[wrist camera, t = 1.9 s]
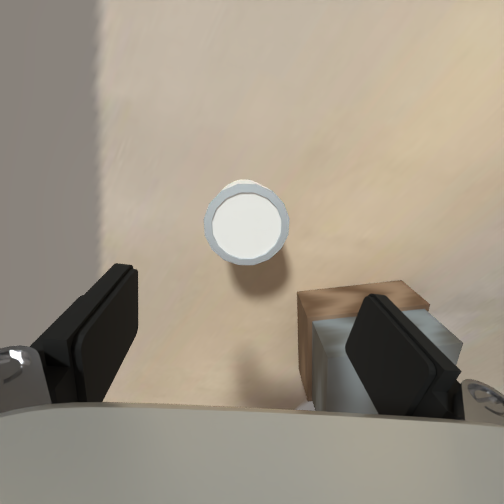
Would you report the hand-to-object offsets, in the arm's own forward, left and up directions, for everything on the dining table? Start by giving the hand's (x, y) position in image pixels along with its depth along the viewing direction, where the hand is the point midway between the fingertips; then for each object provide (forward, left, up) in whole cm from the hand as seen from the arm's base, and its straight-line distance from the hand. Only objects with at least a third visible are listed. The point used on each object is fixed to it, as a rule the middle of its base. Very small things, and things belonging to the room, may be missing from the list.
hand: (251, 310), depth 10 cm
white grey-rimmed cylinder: (0, 0, -18) cm, 18 cm away
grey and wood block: (-16, +14, -18) cm, 28 cm away
